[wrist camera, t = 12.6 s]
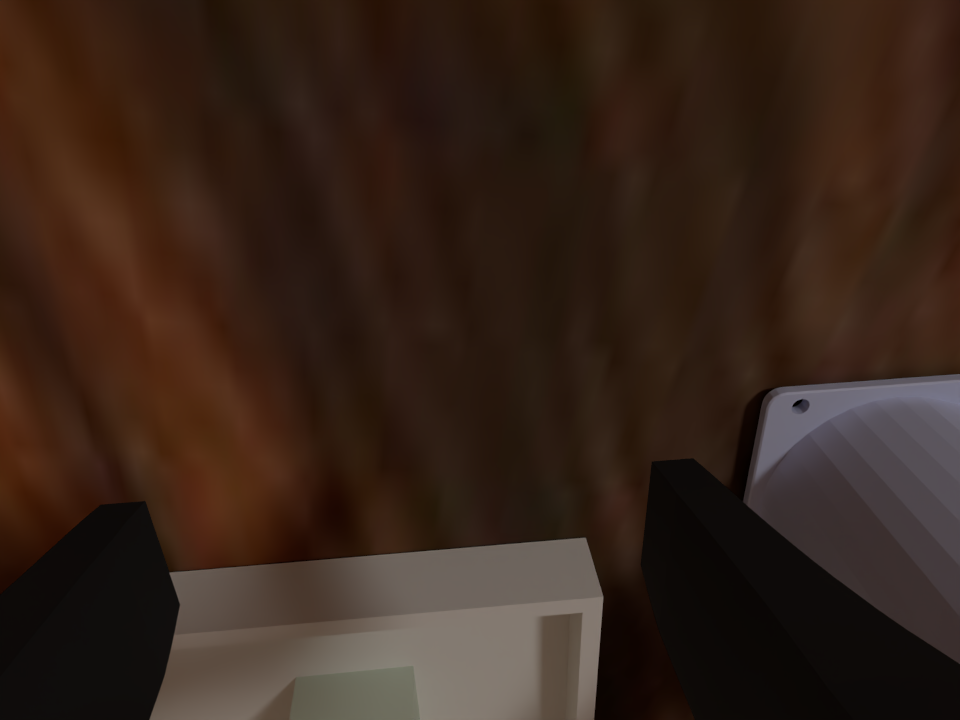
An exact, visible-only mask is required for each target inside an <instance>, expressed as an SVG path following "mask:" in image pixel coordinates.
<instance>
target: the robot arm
mask: <svg viewBox="0 0 960 720" xmlns="http://www.w3.org/2000/svg"><path fill="white" fill-rule="evenodd" d="M801 399H803V400H802V402H801V403H800V404H799V405H797V406H794V407H792V406H793V404H794V403H795V402H796V401H797V400H801ZM641 567H642V571H643V575H644V579H645V583H646V586H647V590H648V594H649V598H650V601H651V605H652V608H653V612H654V615H655V619H656V622H657V626H658V629H659V632H660V634H661V637H662V640H663V642H664V645H665V647H666V650H667V652H668V655H669V657H670V660H671V662H672V664H673V667H674V669H675V672H676V674H677V677H678V679H679V682H680V684H681V687H682V689H683V691H684V694H685V696H686V699H687V701H688V704H689V706H690V708H691V711H692V713H693V716H694V718H695V720H960V374H954V375H941V376H927V377H913V378H899V379H886V380H872V381H858V382H845V383H831V384H817V385H804V386H790V387H780V388H776V389H774V390H772V391H770V392H769V393H768V394H767V395H766V396H765V397H764V399H763V402H762V406H761V411H760V416H759V422H758V427H757V432H756V437H755V442H754V447H753V453H752V458H751V463H750V468H749V473H748V478H747V484H746V489H745V494H744V499H743V501H741V500H740V499H739V498H738V497H737V496H736V495H735V494H733V493H732V492H731V491H730V490H729V489H728V488H727V487H725V486H724V485H723V484H722V483H721V482H720V481H719V480H718V479H716V478H715V477H714V476H713V475H712V474H711V473H710V472H708V471H707V470H706V469H705V468H704V467H703V466H701V465H700V464H699V463H698V462H697V461H696V460H694V459H680V460H667V461H654V462H652V466H651V475H650V484H649V494H648V503H647V512H646V521H645V530H644V540H643V549H642V558H641ZM179 608H180V603H179V600H178V597H177V594H176V591H175V588H174V585H173V582H172V579H171V576H170V573H169V570H168V567H167V564H166V561H165V558H164V555H163V552H162V549H161V546H160V543H159V540H158V538H157V535H156V532H155V529H154V526H153V523H152V520H151V517H150V514H149V511H148V508H147V505H146V502H145V501H143V502H130V503H118V504H105V505H100V506H99V507H98V508H96V509H95V510H94V511H93V512H92V513H90V514H89V515H88V516H87V517H86V518H85V519H83V520H82V521H81V522H80V523H79V524H78V525H77V526H75V527H74V528H73V529H72V530H71V531H70V532H69V533H68V534H67V535H65V536H64V537H63V538H62V539H61V540H60V541H59V542H58V543H57V544H56V545H55V546H53V547H52V548H51V549H50V550H49V551H48V552H47V553H46V554H45V555H44V556H42V557H41V558H40V559H39V560H38V561H37V562H36V563H35V564H34V565H33V566H32V567H30V568H29V569H28V570H27V571H26V572H25V573H24V574H23V575H22V576H21V577H19V578H18V579H17V580H16V581H15V582H14V583H13V584H12V585H10V586H9V587H8V588H7V589H6V590H5V591H4V592H3V593H2V594H0V720H149V719H150V717H151V714H152V711H153V708H154V705H155V702H156V699H157V697H158V694H159V691H160V688H161V685H162V682H163V679H164V676H165V672H166V668H167V664H168V660H169V655H170V651H171V647H172V642H173V637H174V633H175V628H176V623H177V618H178V613H179Z"/></svg>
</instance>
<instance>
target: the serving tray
mask: <svg viewBox="0 0 960 720" xmlns="http://www.w3.org/2000/svg"><path fill="white" fill-rule="evenodd" d="M170 576H171V579H172V582H173V585H174V588H175V591H176V594H177V597H178V600H179V603H180V608H179V613H178V618H177V623H176V628H175V633H174V637H173V642H172V647H171V651H170V655H169V660H168V664H167V668H166V672H165V676H164V679H163V682H162V685H161V688H160V691H159V694H158V697H157V699H156V702H155V705H154V708H153V711H152V714H151V717H150V719H149V720H289V718H290V712H291V706H292V699H293V693H294V687H295V680H296V677H304V676H314V675H324V674H334V673H345V672H355V671H365V670H375V669H385V668H395V667H406V666H413V667H414V675H415V683H416V690H417V698H418V706H419V714H420V720H594V714H595V701H596V687H597V674H598V661H599V648H600V634H601V621H602V608H603V594H602V591H601V587H600V584H599V581H598V577H597V574H596V571H595V567H594V564H593V561H592V557H591V554H590V551H589V547H588V544H587V541H586V538H576V539H564V540H552V541H540V542H528V543H516V544H504V545H492V546H480V547H468V548H457V549H445V550H433V551H421V552H409V553H397V554H385V555H373V556H361V557H349V558H338V559H326V560H314V561H302V562H290V563H278V564H266V565H254V566H242V567H230V568H219V569H207V570H195V571H183V572H171V573H170Z"/></svg>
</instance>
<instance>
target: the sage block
mask: <svg viewBox="0 0 960 720" xmlns="http://www.w3.org/2000/svg"><path fill="white" fill-rule="evenodd" d="M289 720H420V714H419V706H418V698H417V690H416V683H415V675H414V667H413V666H406V667H395V668H385V669H375V670H365V671H355V672H345V673H334V674H324V675H314V676H304V677H296V680H295V687H294V693H293V699H292V706H291V712H290V718H289Z"/></svg>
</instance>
